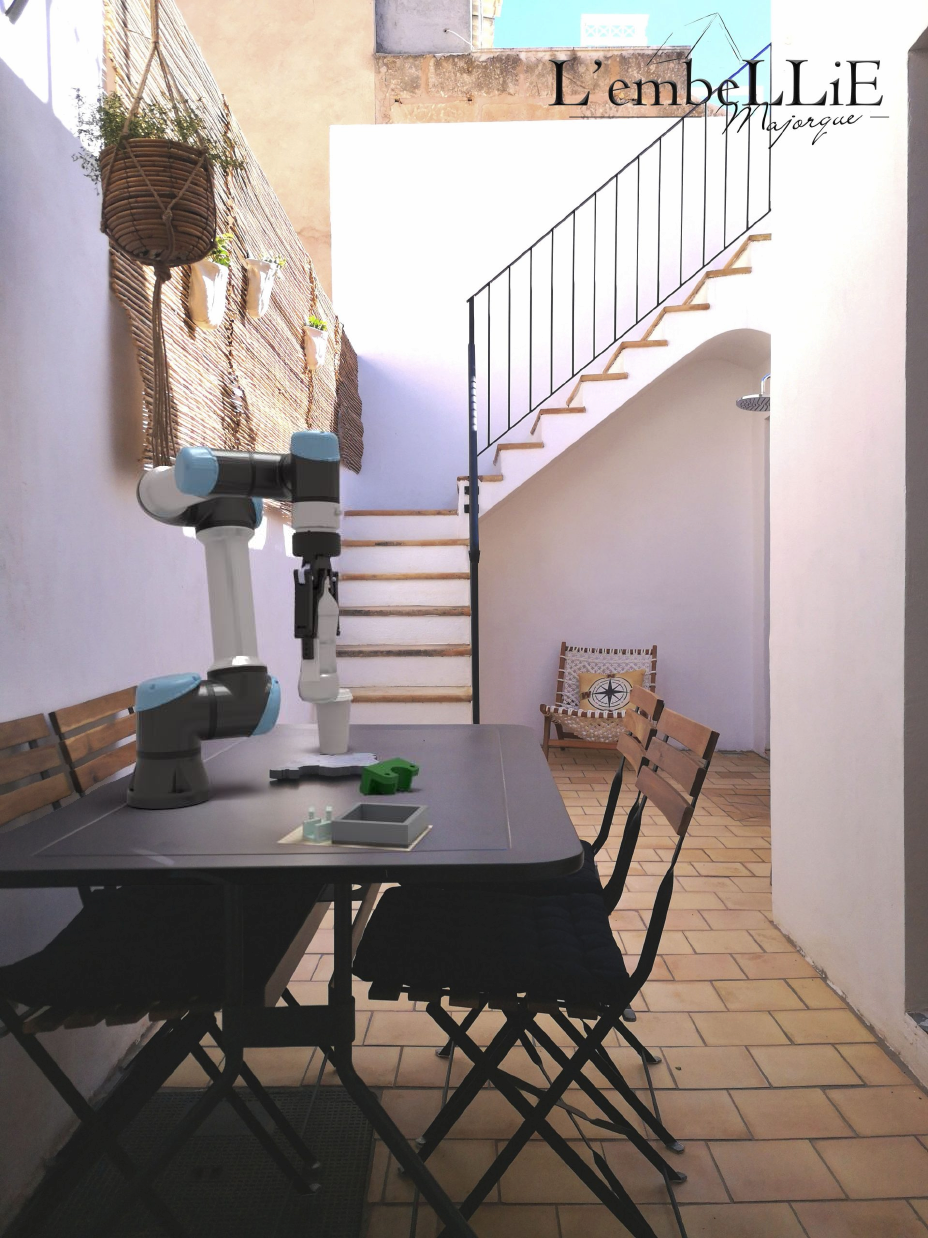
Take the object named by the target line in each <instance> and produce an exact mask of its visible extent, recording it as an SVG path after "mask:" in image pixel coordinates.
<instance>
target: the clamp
mask: <svg viewBox="0 0 928 1238" xmlns="http://www.w3.org/2000/svg"><path fill="white" fill-rule="evenodd" d="M419 773H420V766H419V765H418V764H415V763H412V762H410V761H408V760H405V759H402V758H400V757H395V758H392V759H388V760H385V761H381V762H378V763H373V764H371V765H366V766H363V769H362V773H361V778H360V779H361V780H360V785H359V793H360V794H362V795H364V796H378V795H380V794H383V795H385V796H389V795H390V796H391V795H396V792H397V790H400V791H402V792H406V793H410V791H411V788H412V784H413V779H414V777H418V776H419Z"/></svg>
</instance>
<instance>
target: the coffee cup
mask: <svg viewBox="0 0 928 1238" xmlns="http://www.w3.org/2000/svg"><path fill="white" fill-rule="evenodd" d="M353 699H354V697H353V694H352V693H351V690H350V689H348V688H341V687H340V690H339V695H338V697H337V699H336V700H334V701H331V702H327V703H324V704H315V711H316V720H317V721H316V722H317V731H318V732H317V733H318V742H319V752H320V754H323V755H342V754H346V753H347V752H348V748H349V747H348V746H349V745H348V744H349V735H350V734H349V732H350V717H351V707H352V700H353Z"/></svg>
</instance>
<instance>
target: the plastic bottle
mask: <svg viewBox="0 0 928 1238" xmlns="http://www.w3.org/2000/svg"><path fill="white" fill-rule="evenodd" d="M328 588H330V585H329V576H327V579H326V580H325V587H324V595H323V596H322V597H320V600H319V604H318V626H317V636H316V638H315V639H319V654H320V681H301V668H300V670H299V671H300V673H299V676H298V682H297V683H298V684H297V691H298V697H299V698H300V700H301V701H303V702H306V703H309V704H314V705H316V704H324V703H327V702H331V701H334V700H336V699H337V697H338V695H339V690H340V688H341V684H340V676H339V673H338V666H337V664H338V663H337V653H336V651H337V650H336V648H337V645H336V643H337V636H336V631H337V624H338V615H339V616H340V607H339V608H338V605H337V603H336V601H335V600H334V598H333V597H332V596H331V594H330V593H329V591H328Z"/></svg>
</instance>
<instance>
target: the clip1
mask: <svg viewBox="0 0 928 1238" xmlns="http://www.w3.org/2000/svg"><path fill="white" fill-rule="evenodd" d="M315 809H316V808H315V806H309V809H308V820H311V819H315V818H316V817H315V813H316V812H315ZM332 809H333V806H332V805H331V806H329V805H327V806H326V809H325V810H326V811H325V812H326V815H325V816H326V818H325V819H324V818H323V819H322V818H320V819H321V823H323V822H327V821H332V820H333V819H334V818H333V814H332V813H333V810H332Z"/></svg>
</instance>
